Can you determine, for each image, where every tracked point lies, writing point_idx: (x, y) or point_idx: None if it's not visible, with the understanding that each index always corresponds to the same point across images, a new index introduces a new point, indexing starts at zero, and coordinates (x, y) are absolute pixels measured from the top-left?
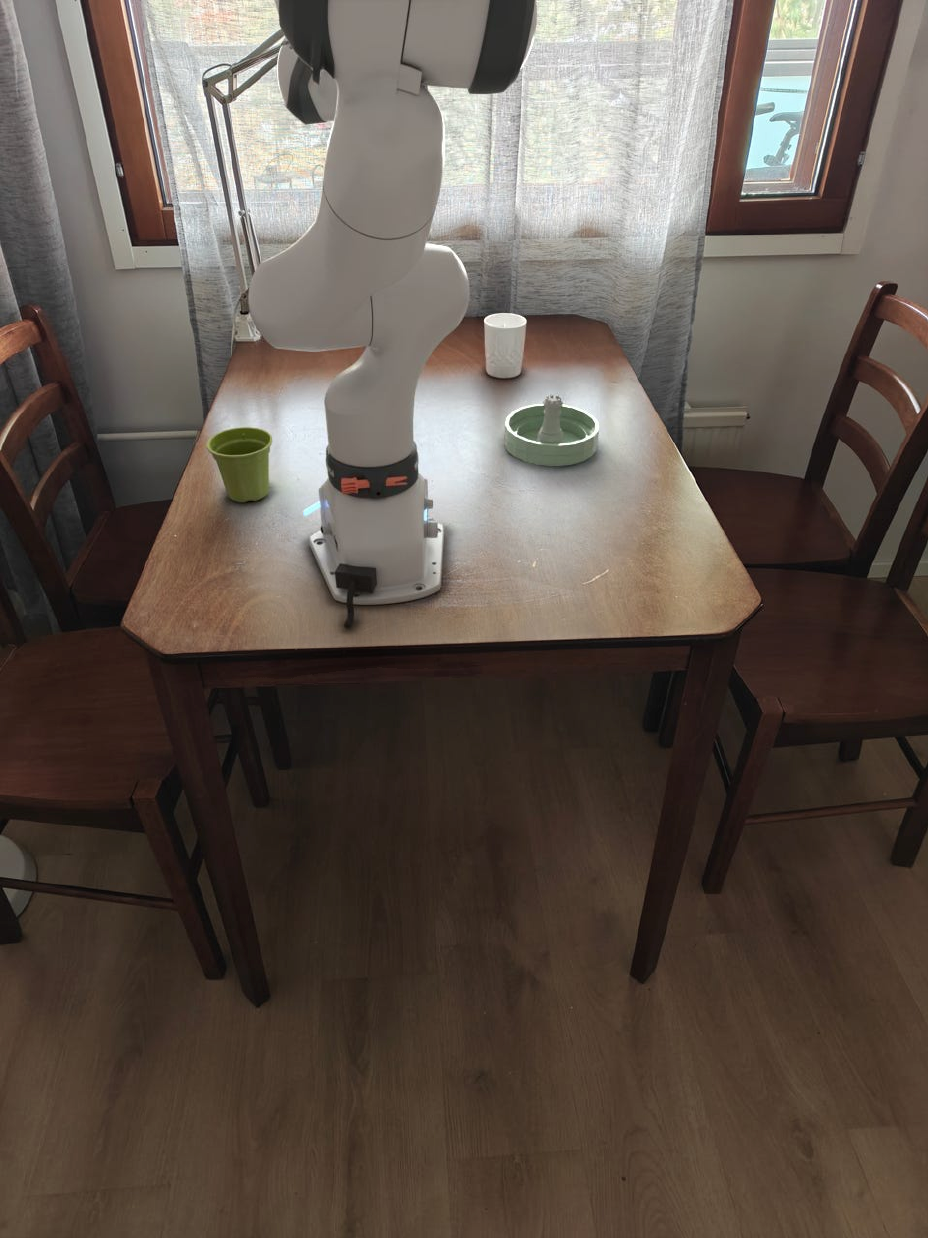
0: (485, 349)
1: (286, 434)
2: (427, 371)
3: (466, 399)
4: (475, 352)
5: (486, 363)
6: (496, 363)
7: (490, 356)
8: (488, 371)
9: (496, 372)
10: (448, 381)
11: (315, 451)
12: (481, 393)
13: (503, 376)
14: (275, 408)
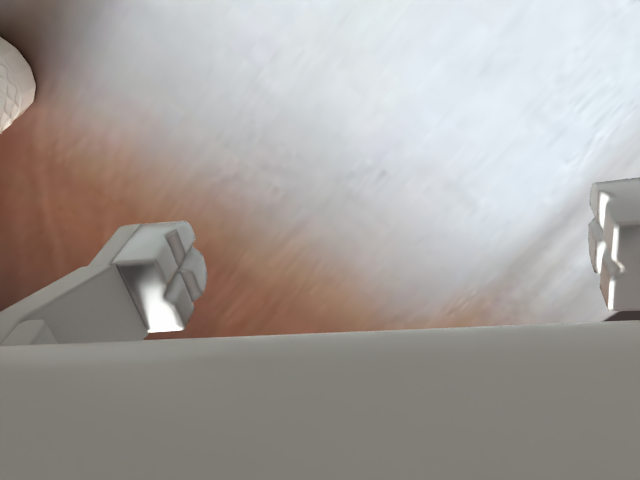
0: (5, 121)
1: (609, 139)
2: (154, 188)
3: (148, 8)
4: (14, 194)
5: (23, 106)
6: (5, 68)
7: (7, 92)
8: (32, 87)
9: (18, 62)
10: (137, 118)
11: (634, 17)
12: (98, 11)
13: (8, 44)
14: (529, 253)
